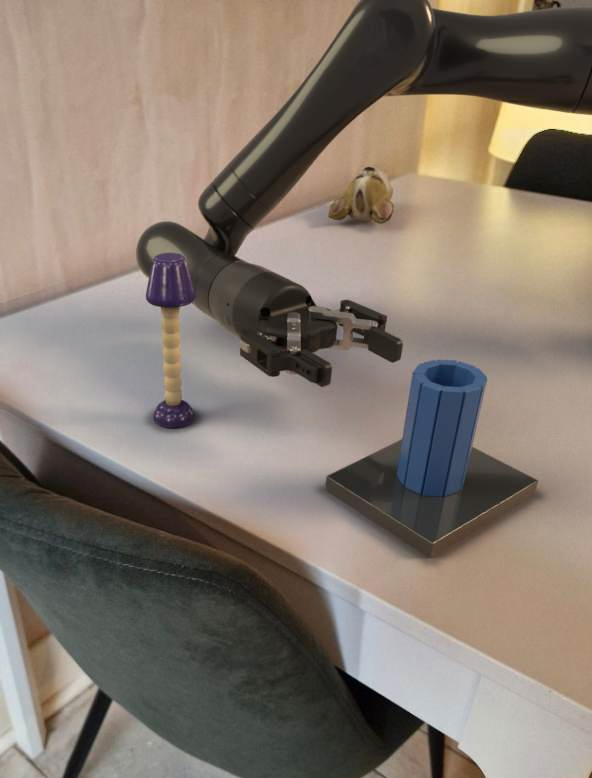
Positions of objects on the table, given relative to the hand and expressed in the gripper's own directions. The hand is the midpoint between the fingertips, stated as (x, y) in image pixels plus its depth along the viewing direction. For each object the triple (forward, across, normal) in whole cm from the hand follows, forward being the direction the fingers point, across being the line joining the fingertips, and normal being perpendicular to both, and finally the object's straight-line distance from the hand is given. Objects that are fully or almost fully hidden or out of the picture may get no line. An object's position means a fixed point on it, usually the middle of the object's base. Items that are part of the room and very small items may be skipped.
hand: (364, 364), depth 69 cm
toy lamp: (-15, -12, +9) cm, 21 cm away
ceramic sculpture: (-54, +50, +9) cm, 75 cm away
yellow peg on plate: (+10, 0, +9) cm, 13 cm away
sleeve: (+10, 0, +7) cm, 12 cm away
